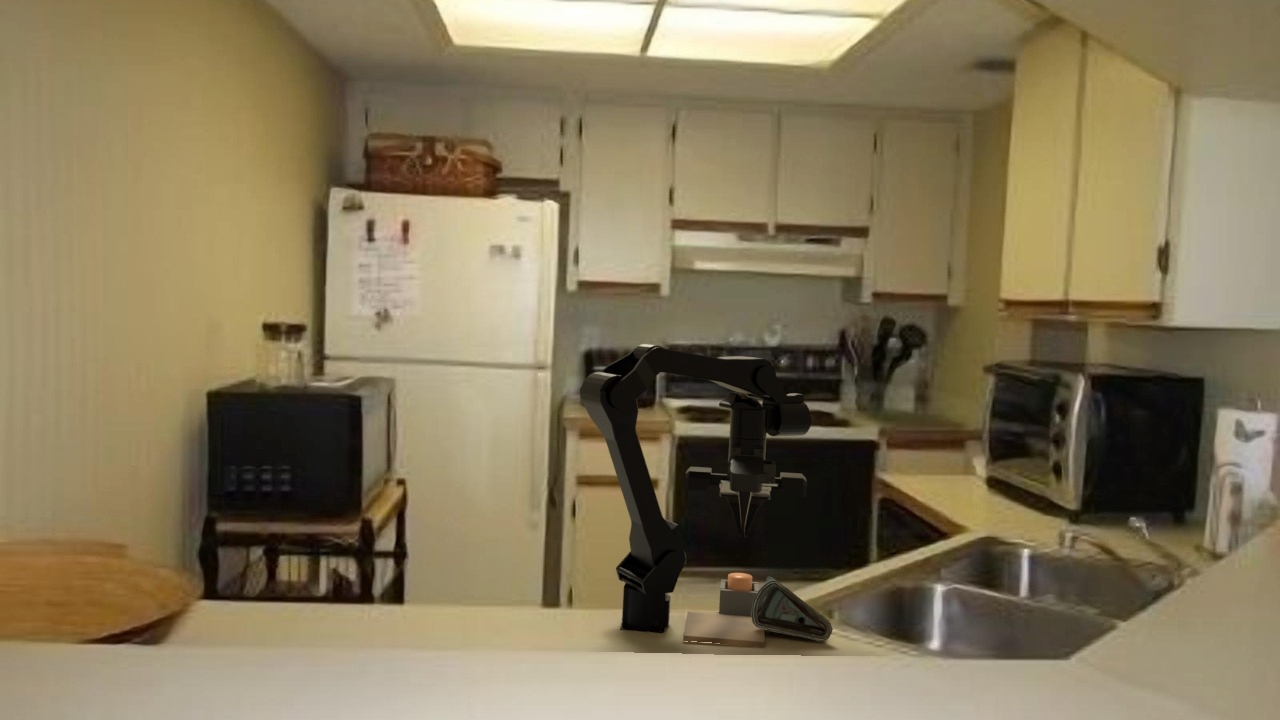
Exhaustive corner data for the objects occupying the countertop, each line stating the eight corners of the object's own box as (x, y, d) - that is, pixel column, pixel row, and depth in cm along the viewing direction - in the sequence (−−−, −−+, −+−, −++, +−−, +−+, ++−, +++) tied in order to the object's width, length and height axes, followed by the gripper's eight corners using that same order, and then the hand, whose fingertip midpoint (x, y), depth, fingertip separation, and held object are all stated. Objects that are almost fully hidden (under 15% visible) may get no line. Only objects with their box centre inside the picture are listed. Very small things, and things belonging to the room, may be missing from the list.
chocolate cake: (841, 633, 145) (794, 565, 150) (837, 632, 139) (789, 561, 143) (788, 669, 146) (743, 600, 150) (782, 670, 139) (736, 597, 144)
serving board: (682, 642, 138) (683, 635, 138) (687, 618, 149) (687, 611, 149) (764, 649, 137) (764, 642, 137) (763, 624, 148) (763, 617, 148)
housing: (718, 615, 151) (720, 590, 151) (719, 603, 157) (721, 579, 157) (757, 618, 150) (759, 593, 150) (757, 606, 156) (758, 582, 156)
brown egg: (726, 606, 152) (728, 578, 152) (726, 599, 156) (728, 572, 155) (751, 608, 152) (752, 580, 151) (750, 601, 155) (752, 573, 155)
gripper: (685, 440, 145) (680, 543, 146) (811, 448, 143) (805, 552, 144) (689, 431, 156) (684, 527, 157) (807, 438, 154) (801, 535, 155)
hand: (742, 535), depth 153 cm, fingers closed
